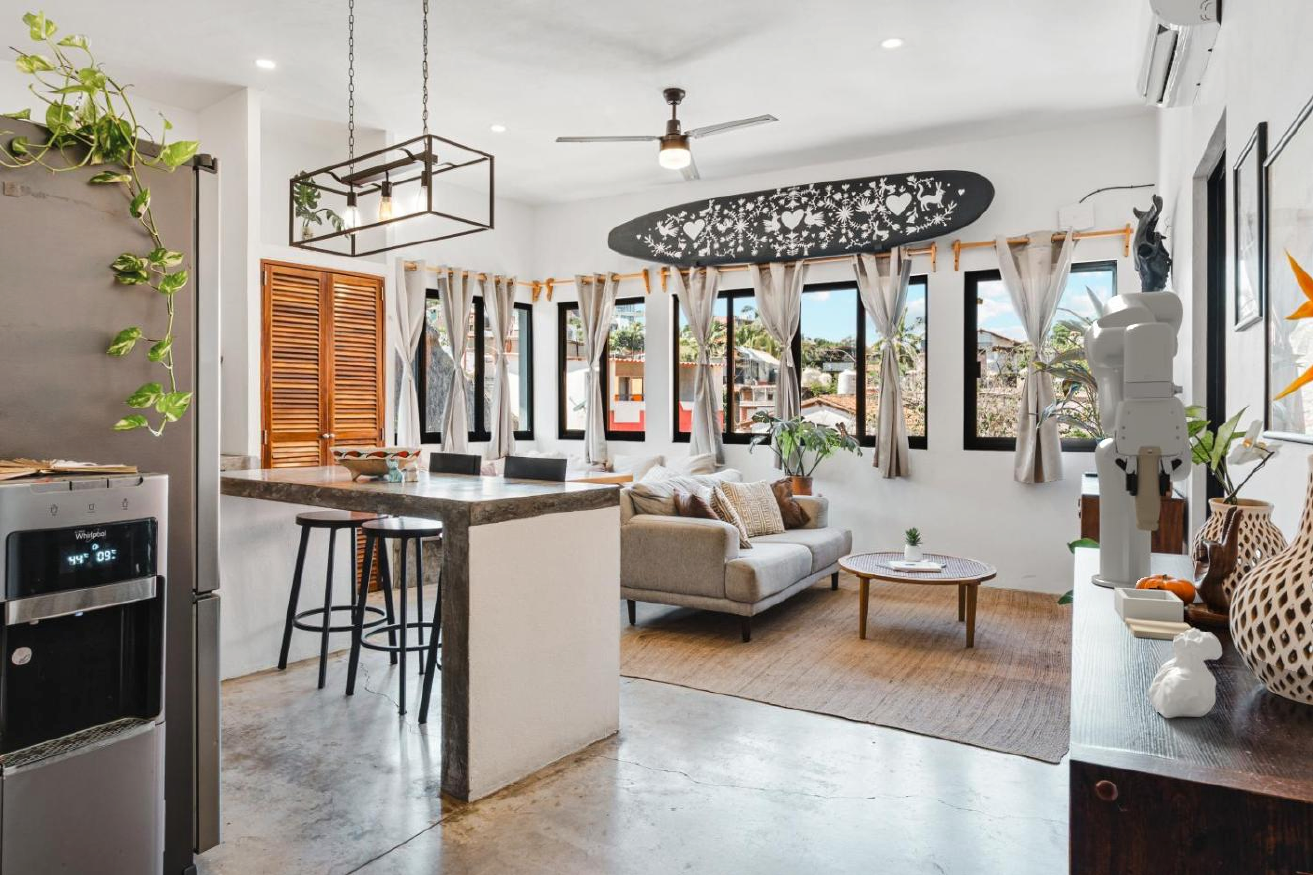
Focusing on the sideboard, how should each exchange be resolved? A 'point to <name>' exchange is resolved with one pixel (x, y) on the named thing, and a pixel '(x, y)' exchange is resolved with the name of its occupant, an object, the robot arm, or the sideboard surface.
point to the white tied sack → (1187, 677)
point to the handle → (1148, 489)
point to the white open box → (1148, 604)
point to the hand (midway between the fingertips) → (1147, 494)
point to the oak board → (1156, 628)
